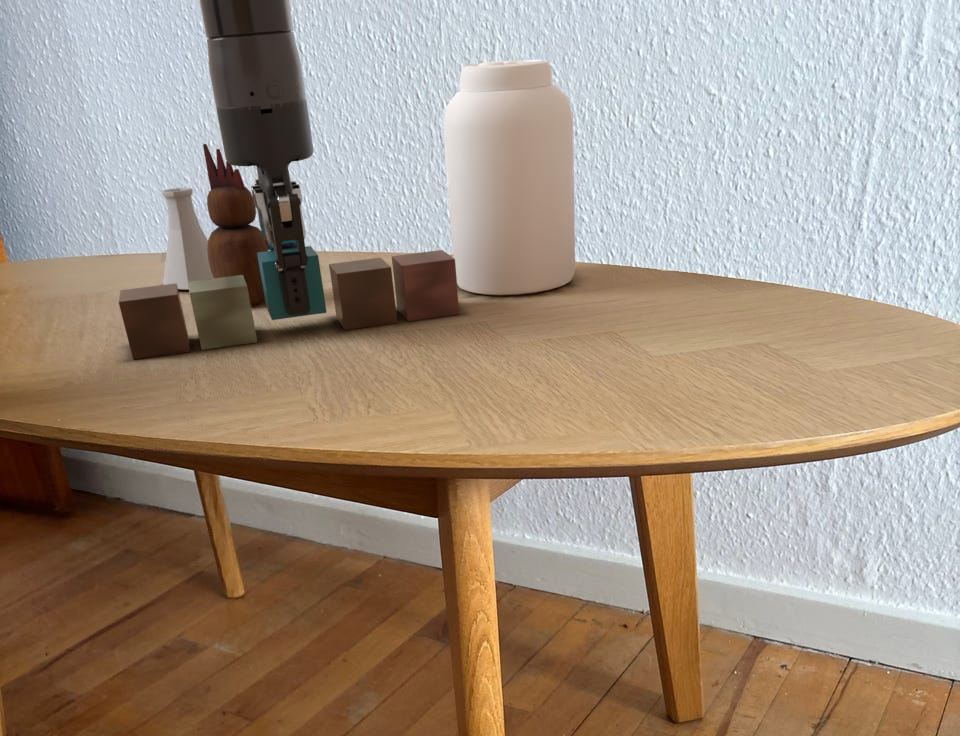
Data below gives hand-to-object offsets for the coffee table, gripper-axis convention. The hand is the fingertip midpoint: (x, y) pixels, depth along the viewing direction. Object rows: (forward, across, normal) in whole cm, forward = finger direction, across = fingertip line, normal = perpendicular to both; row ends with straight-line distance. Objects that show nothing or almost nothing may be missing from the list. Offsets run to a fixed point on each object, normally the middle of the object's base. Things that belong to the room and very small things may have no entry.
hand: (294, 306), depth 92 cm
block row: (+2, 0, 0) cm, 2 cm away
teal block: (0, 0, 0) cm, 0 cm away
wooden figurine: (+2, -14, -4) cm, 15 cm away
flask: (+2, -27, -9) cm, 28 cm away
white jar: (+2, -7, +23) cm, 25 cm away
